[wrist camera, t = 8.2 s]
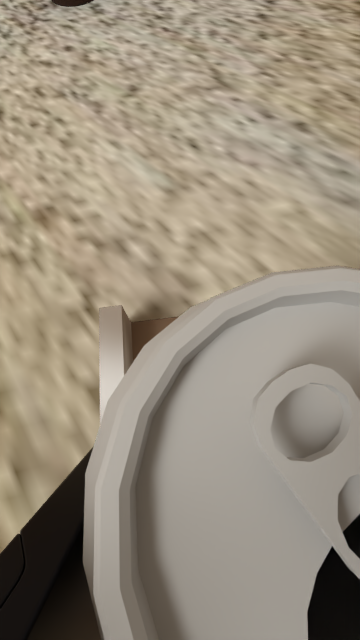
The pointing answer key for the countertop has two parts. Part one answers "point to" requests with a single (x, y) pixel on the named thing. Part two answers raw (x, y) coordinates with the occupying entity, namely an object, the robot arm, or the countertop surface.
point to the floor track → (121, 346)
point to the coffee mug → (71, 2)
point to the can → (234, 471)
